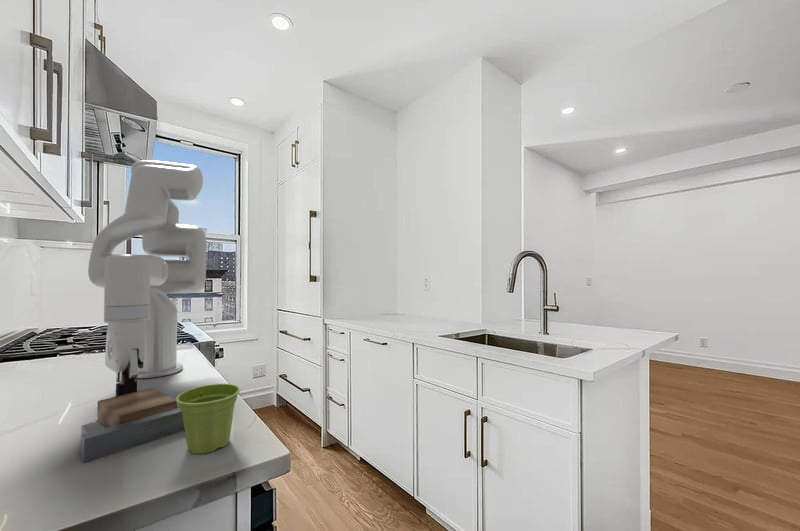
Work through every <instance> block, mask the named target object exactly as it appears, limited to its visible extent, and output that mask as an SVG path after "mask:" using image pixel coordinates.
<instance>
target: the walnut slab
mask: <svg viewBox="0 0 800 531" xmlns="http://www.w3.org/2000/svg"><path fill="white" fill-rule="evenodd" d="M174 409H178V403H177V402H176V398H173V397H171V396H168V395H167V394H164V393H163V392H160V391H158V390H157V389H154V388H153V387H151V388H145V389H143V390H139V391H138V390H137V392H133V393H129V394H125V395H121V396H116V395H115V396H113V397H109V398H105V399H104V398H103V399H100V400H97V414H96V415H97V416H96V417H97V418H96V419H97V422H98V423H99V424H100V423H101V424H102V425H103V426H105V427H106V428H109V427H113V426H117V425H120V424H124V423H127V422H131V421H135V420H138V419H142V418H145V417H149V416H153V415H156V414H160V413H163V412H167V411H171V410H174Z"/></svg>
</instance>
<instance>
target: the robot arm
mask: <svg viewBox="0 0 800 531" xmlns="http://www.w3.org/2000/svg"><path fill="white" fill-rule="evenodd" d="M130 171H131V175H130V180H129V181H130V182H129V186H128V192H127V197H126V198H127V199H126V204H125V208H124V209H125V210H124V213H123V214H122V215H120V216H119V217H117V218H115V219H114V220H112V221H111V222H110V223H108V224H107V225H106V226H104V228H103V229H101V231H100V232H99V233H98V234H97V235H96V237H95V239H94V241H93V243H92V247H91V252H90V256H89V260H88V268H87V271H88V272H87V274H88V278H89V280H90V282H91V283H92V284H93V285H94V286H95V287H98V288H104V290H103V292H104V294H103V295H104V296H103V297H104V298H103V299H104V300H103V301H104V302H103V303H104V304H103V323H106V324H107V330H106V338H105V339H106V340H105V354H104V364H105V367H107V368H108V369H109V370H111V371H113V372H114V373H115V377H116V378H115V379H116V384H115V397H116V396H121V395H125V394H129V393H133V392H138V379H150V378H158V377H159V378H160V377H164V376H169V375H173V374H175V373H178V372H181V371H182V370H183V369H184V366H183V365H184V364H183V363H181V362H178V361H177V357H178V356H177V354H178V353H177V350H178V309H177V308H178V307H177V306H176V303H175V302H174V301H173V300H172V299H171V298H170V297H169V296H168V295H169V294H192V293H193V294H194V293H199V292H201V291H202V290H204V288H205V285H206V280H207V277H206V276H207V249H208V248H207V237H206V236H207V235H206V232H205V231H204V229H203V228H202V227H200V226H199V225H198V226H197V225H191V224H179V217H180V211H179V208H178V206H177V204H175V202H173V200H176V201H194V200H195V199H197V197H198V196H199V194H200V192H201V191H202V188H203V184H204V177H203V173H202V171H201V169H200V168H199V167H198V166H197V165H194V164H186V163H177V162H170V161H164V160H163V161H161V160H151V159H150V160H149V159H145V160H143V159H142V160H137V161H135V162H133V164H132V165H131V169H130ZM141 235H142V236H141ZM138 236H141V237H142V238H141V245H142V246H141V247H142V250H143V251H144V253H145V254H129V253H128V254H127V253H126V254H125V253H120V254H119V253H113V251H114V250H115V249H116V248H117V247H118V246H119V245H121V243H124V242H125V241H127V240H129V239H133V238H135V237H138ZM163 257H166V258H167V257H172V258H174V257H176V258H188V260H183V259H182V260H181V259H179V260H177V259H176V260H175V259H164V258H163Z"/></svg>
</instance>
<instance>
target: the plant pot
mask: <svg viewBox="0 0 800 531" xmlns="http://www.w3.org/2000/svg"><path fill="white" fill-rule="evenodd" d="M240 391H241V387H240V386H239V385H237V384H233V383H232V384H230V383H214V384H206V385H201V386H196V387H193V388H190V389H187V390H185V391H182V392H180V393H179V394H178V395H177V396H176V397H175V400H176V402H177V405H178V406H179V407H178V408H180V410H181V411H182V415H183V421H184V428H185V430H184V433H185V440H186V446H187V450H188V451H190V452H191V453H193V454H198V455H199V454H207V453H211V452H214V451H216V450H217V449H218V448H224V447H225V446H226V445H228V444H229V442H230V440H231V432H232V425H233V424H232V423H233V417H234V411H235V403H236V401H237V399H238V395H239V394H240Z"/></svg>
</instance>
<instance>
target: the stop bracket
mask: <svg viewBox="0 0 800 531" xmlns="http://www.w3.org/2000/svg"><path fill="white" fill-rule="evenodd" d="M179 431H180V432H183V431H185V428H184V421H183V415H182V411H181V410H180V407H177V409H174V410H171V411H167V412H163V413H160V414H156V415H153V416H149V417H145V418H142V419H138V420H135V421H131V422H127V423H124V424H120V425H117V426H113V427H109V428H107V427H106V428H104V427H103V426H102V425H101V424H100V422H99V421H98V420H97V421H93V422H89V423H86V424H82V425H81V430H80V432H81V434H80V436H81V437H80V439H81V440H80V443H81V446H80V447H81V448H80V449H81V450H80V460H82V462H83V463H87V462H90V461H93V460H97V459H100V458H103V457H105V456H110V455H111V454H116V453H118V452H121V451H124V450H127V449H130V448H133V447H137V446H139V445H142V444H145V443H149V442H151V441H155V440H158V439H160V438H164V437H167V436H170V435H173V434H176V433H178V432H179Z"/></svg>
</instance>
